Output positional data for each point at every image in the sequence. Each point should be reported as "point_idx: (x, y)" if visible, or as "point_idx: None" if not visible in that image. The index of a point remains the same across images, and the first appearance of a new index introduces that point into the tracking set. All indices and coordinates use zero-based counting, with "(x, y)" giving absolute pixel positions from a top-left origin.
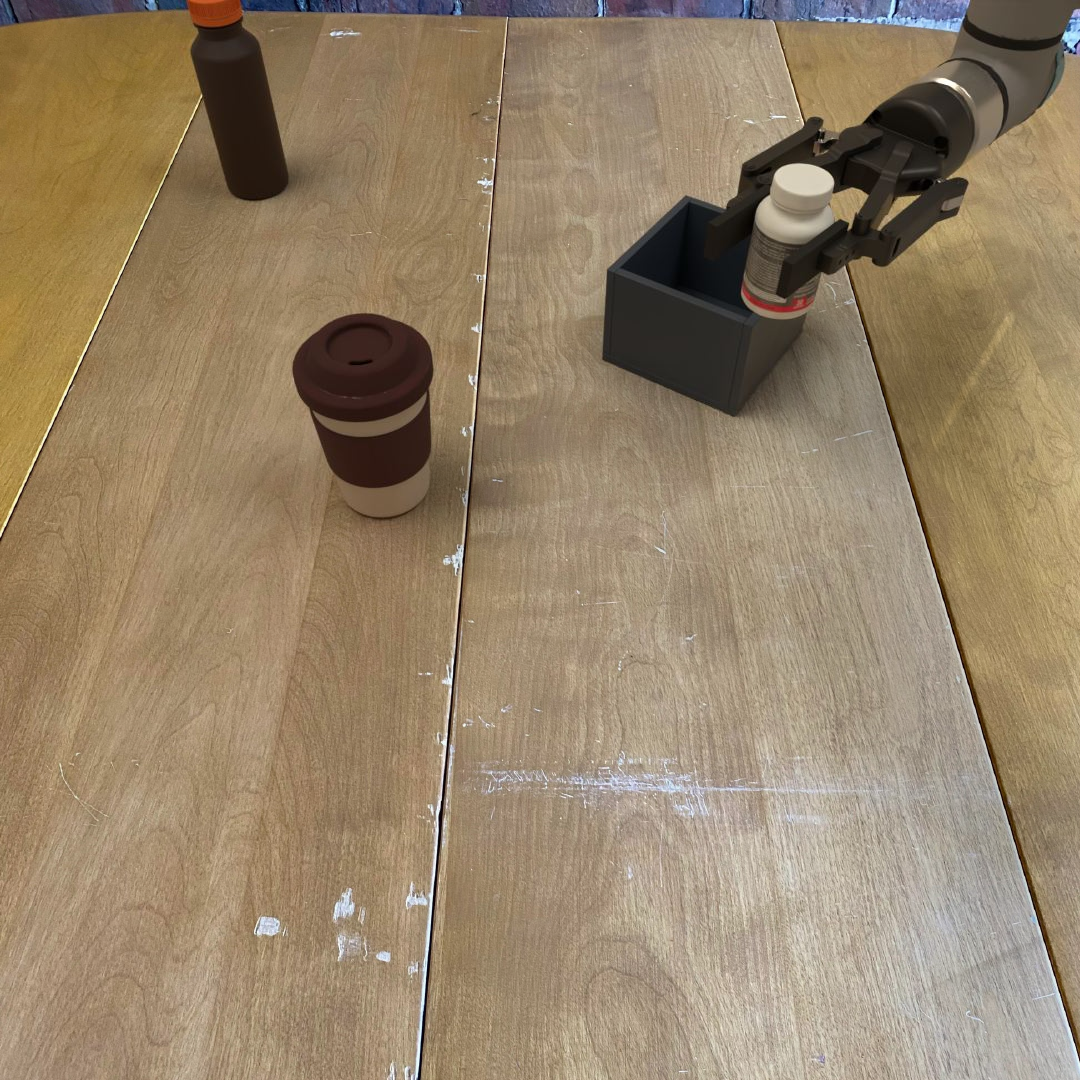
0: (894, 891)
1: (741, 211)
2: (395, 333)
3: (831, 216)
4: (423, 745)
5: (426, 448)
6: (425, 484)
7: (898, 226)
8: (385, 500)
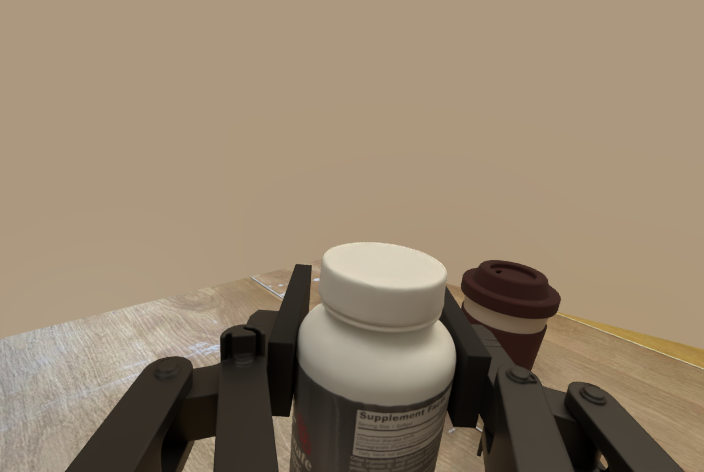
0: (74, 360)
1: None
2: (512, 278)
3: (311, 338)
4: None
5: None
6: None
7: (145, 392)
8: None
